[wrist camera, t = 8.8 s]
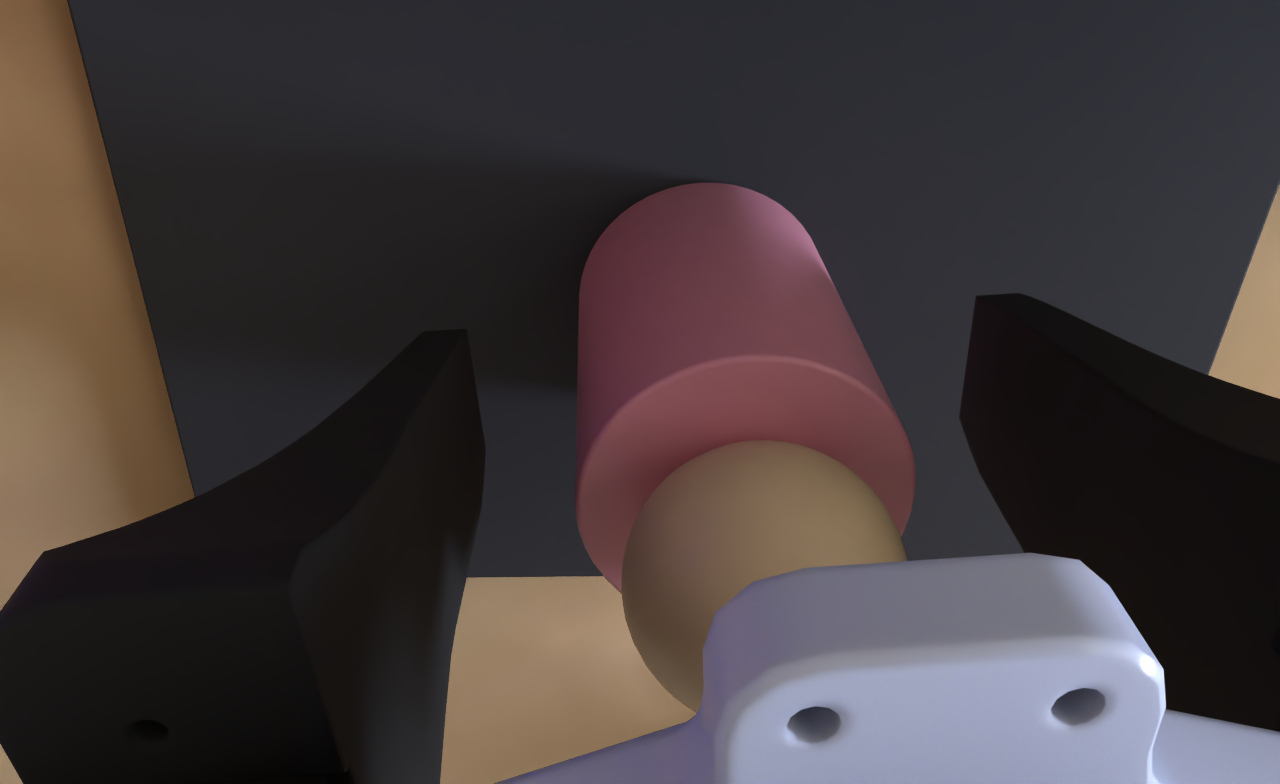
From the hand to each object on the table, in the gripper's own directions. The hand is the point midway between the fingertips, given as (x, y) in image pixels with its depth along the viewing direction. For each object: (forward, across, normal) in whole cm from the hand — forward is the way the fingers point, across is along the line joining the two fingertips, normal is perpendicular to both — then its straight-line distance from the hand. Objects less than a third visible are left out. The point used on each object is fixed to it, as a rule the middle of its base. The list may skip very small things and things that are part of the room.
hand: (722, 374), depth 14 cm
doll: (+2, 0, 0) cm, 3 cm away
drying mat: (+3, 0, 0) cm, 3 cm away
